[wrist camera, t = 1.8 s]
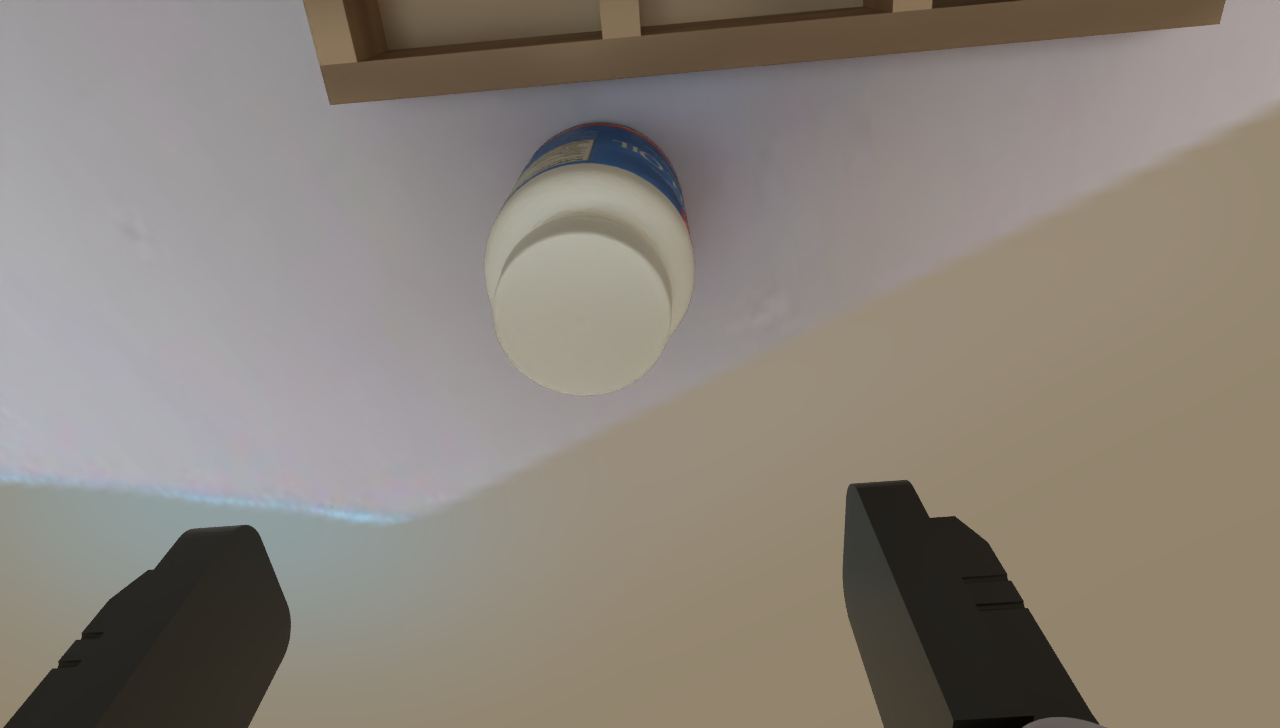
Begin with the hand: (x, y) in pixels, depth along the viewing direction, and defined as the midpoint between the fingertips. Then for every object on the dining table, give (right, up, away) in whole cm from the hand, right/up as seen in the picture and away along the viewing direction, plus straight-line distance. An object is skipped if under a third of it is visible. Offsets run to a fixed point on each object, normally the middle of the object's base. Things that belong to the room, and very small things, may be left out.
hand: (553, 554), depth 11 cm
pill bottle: (0, +8, +15) cm, 17 cm away
